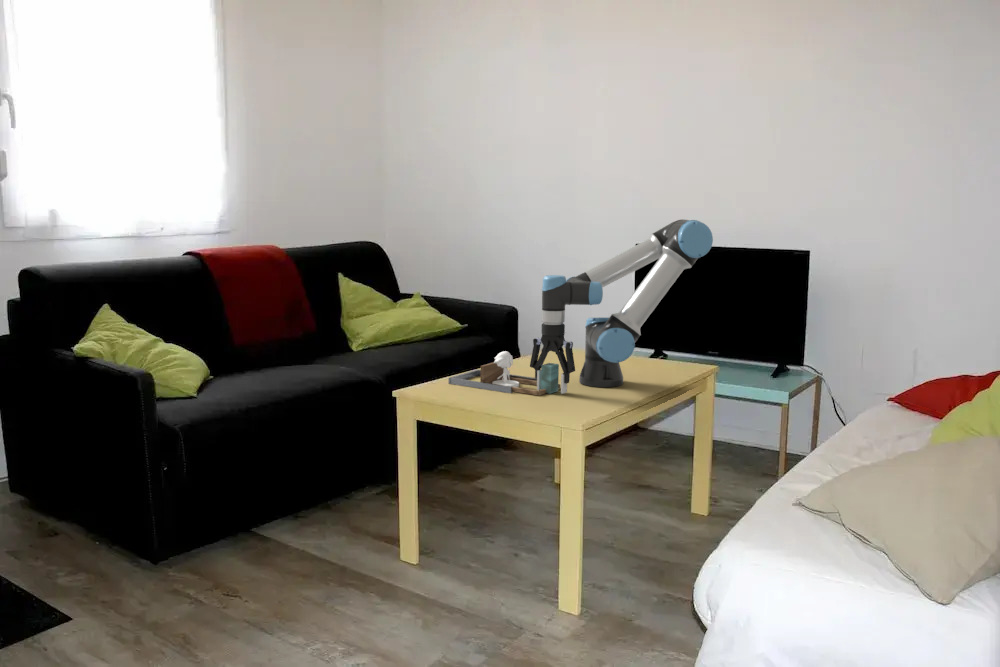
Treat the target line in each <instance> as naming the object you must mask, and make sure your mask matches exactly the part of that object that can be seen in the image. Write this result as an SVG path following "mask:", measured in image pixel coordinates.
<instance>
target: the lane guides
mask: <svg viewBox="0 0 1000 667" xmlns="http://www.w3.org/2000/svg"><path fill="white" fill-rule="evenodd" d="M480 373H481V369H474V370H471V371H467V372H464V373H461V374H457V375H454V376H450V377H448V384H449V385H456V386H460V387H461V386H462V387H468V388H476V389H480V390H487V391H488V390H489V391H494V392H498V393H499V392H501V393H507V394H513V391H512V389H513V387H511V386H504V385H497V384H491V383H484V382H480V381H478V380H471V379H472V378H475V377H480ZM507 377H508V375H507ZM509 377H514V378H521V379H528V380H534V381H537V379H535V377H532V376H526V375H517V374H511V373H510V374H509Z"/></svg>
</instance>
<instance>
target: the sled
mask: <svg viewBox="0 0 1000 667" xmlns="http://www.w3.org/2000/svg"><path fill="white" fill-rule="evenodd" d="M494 362H495V361H493V362H489V363H487V364H483V365H480V370H481V373H480V376H479V377H480V380H479V382H484V383H491V384H492V382H493V381H497V380H502V379H503V380H504V378H503V376H502V377H501V378H499V379H497V378H498V377H500V376H501V375H502V374H503V373H504V372H503V371H504V370H503V369H504V368H502V367H500V366H497V364H496V363H494ZM559 367H560V363H552V362H547V363H543V365H542V367H541V369H542V373H541V390H537V389H531V388H530V389H529V388H523V387H513V389H512V392H516V393H523V394H526V395H527V394H528V395H534V396H542V395H545V394H553V393H556V392H559V389H561V383H559V376H560V370H559V369H560V368H559ZM509 379H510V380H514V381H517V382H519V384H526V385H534V386H537V381H534V380H528V379H521V378H514V377H507V380H509ZM497 385H498V384H497ZM504 386H505V385H504Z"/></svg>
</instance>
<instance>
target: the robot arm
mask: <svg viewBox="0 0 1000 667" xmlns="http://www.w3.org/2000/svg"><path fill="white" fill-rule="evenodd" d="M713 242H714V238H713V232H712V231H711V229H710V227H709V226H708V225H707V224H705V223H704V222H702V221H699V220H695V219H691V220H690V219H677V220H675V221H672V222H671V223H668V224H667V225H665V226H664V227H662V228H659V229H658V230H656V231H655V232H653V233H651V234H650V236H649V238H648V239H646V240H644V241H641V242H640V243H638V244H636V245H634V246H632V247H630V248H629V249H626V250H625V251H623V252H621V253H619V254H616V255H615V256H613V257H611V258H609V259H607V260H605V261H602V263H600V264H598V265H596V266H593V267H591V268H590V269H587V270H585V271H584V272H582V273H580V274H578V275H576V276H570V277H568V278H566V276H565V275H560V274H558V275H557V274H549V275H545V276H544V277H543V279H542V289H541V292H542V293H541V322H542V324H541V337H540V338H539V337H535V338H533V339H532V342H533V344H532V345H533V346H532V351H531V358H530V362H529V367H530V368H533V369H534V378H535V379H537V385H536V390H537V391H538V390H541V373H542V365H544V364H545V363H544V362H545V361H546V359H547V356H548V353H549V352H553V353H555V355H556V357H557V359H558V362H559V365H560V366H561V369H562V370H561V371H562V373H561V374H560V376H561V379H560V394H561V395H562V394H566V393H568V384H569V383H570V376H571V375H570V374H571V373H574V372H576V367H575V366H576V365H575V360H574V353H573V352H574V351H573V346H574V342H573V341H568V340H567V341H566V340H565V333H566V332H565V329H566V328H565V327H566V325H565V321H566V305H567V306H568V305H569V306H570V305H574V306H575V305H577V306H581V305H583V306H592V305H600V304H601V303H602V301H603V295H604V294H603V292H604V291H603V290H604V289H603V288H604V287H606V286H608V285H610V284H612V283H615V282H617V281H618V280H620V279H622V278H624V277H626V276H627V275H630V274H632V273H634V272H636V271H638V270H640V269H642V268H644V267H645V266H647V265H649V264H651V263H653V262H655V261H656V262H655V263H654V265H653V266H652V267H651V269H650V270H649V272H648V273H647V274H646V276H645V277H644V278H643V280H642V281H641V282H640V284H639V285H638V286H637V287H636V289H635V291H634V292H633V293H632V294H631V296H630V297H629V298H628V300H627V301H626V303H625V304H624V305H623V307H622V308H621V309H620V310H619V312H617V313H616V312H615V313H611V315H610V316H609V317H588V318H587V319H586V322H585V328H584V329H585V349H584V362H583V365H582V369H581V371H580V374H579V380H578V381H579V383H580V384H581V385H583V386H587V387H593V388H594V387H595V388H615V386H616V387H619V386H623V384H624V374H623V371H622V368H621V364H620V363H622V362H624V361H626V360H628V359H629V358H630V357H631V356H632V354H633V353H634V350H635V348H636V344H635V343H636V342H637V341H638V340H639V338H640V336H642V334H641V327H642V326H643V325H644V323H645V322H646V321H647V319H648V318H649V317H650V315H651V314H652V313H653V312H654V311H655V309H656V308H657V306H658V305H659V303H660V302H661V300H662V299H663V298H664V297H665V296H666V295H667V293H668V292H669V290H670V288H672V286H673V285H674V283H676V281H677V279H678V278H679V277H680V275H681V274H682V273H683V271H684V270H687V269H691V268H692V267H693V266H694V265H695V264H696V261H697V260H698V259H701V257H704V256H706V255H707V254H708V253H709V252H710V250H711V249H712V248H713ZM541 344H542V345H543V346H542V348H541ZM563 347H564V348H563ZM564 349H565V351H564ZM540 350H541V352H540ZM565 355H566V356H565Z"/></svg>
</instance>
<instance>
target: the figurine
mask: <svg viewBox="0 0 1000 667" xmlns="http://www.w3.org/2000/svg"><path fill="white" fill-rule="evenodd" d="M493 358H494V361H493V362H494V363H496V364H497V366H500V367H502V368H504V369H503V370H504V371H503V372H504V373H503V374H502V375H501V376H500V377H498V378H497V379H499V378H501V377H502V376H503V378H504V380H503V379H502V380H497V381H493V382H492V384H498V385H505V386H511V387H518V388H520V387H519V386H520V383H519V382H517V381H514V380H510V379H509V380H507V375H508V377H509V374H511V373H510V368H511V367H512V366H513V365H514V359H513V358H514V357H513V355H511V353H510V352H509V351H506V350H505V351H504V350H503V351H501V352H499V353H497V355H496V356H495V357H493ZM508 368H509V369H508Z"/></svg>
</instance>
